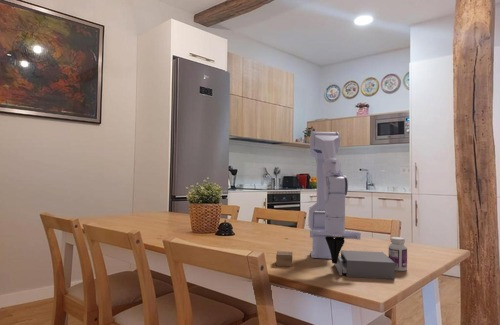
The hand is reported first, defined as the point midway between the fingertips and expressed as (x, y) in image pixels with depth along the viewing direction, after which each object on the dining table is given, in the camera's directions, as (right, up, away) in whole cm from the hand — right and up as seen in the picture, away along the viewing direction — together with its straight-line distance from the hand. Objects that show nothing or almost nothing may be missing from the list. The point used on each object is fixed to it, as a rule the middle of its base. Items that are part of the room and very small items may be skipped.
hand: (334, 262), depth 108 cm
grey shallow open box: (+9, -3, +2) cm, 9 cm away
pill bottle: (+21, -4, +5) cm, 22 cm away
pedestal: (-14, -3, +9) cm, 17 cm away
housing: (+10, -3, +2) cm, 10 cm away
